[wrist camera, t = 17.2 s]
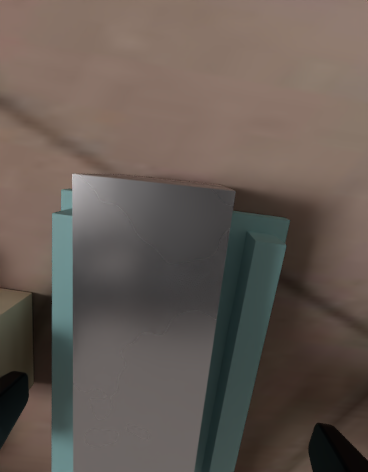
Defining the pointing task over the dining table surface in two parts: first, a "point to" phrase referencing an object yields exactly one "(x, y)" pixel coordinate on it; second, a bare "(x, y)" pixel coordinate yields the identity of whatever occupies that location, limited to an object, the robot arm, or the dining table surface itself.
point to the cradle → (224, 345)
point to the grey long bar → (144, 317)
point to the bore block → (16, 333)
